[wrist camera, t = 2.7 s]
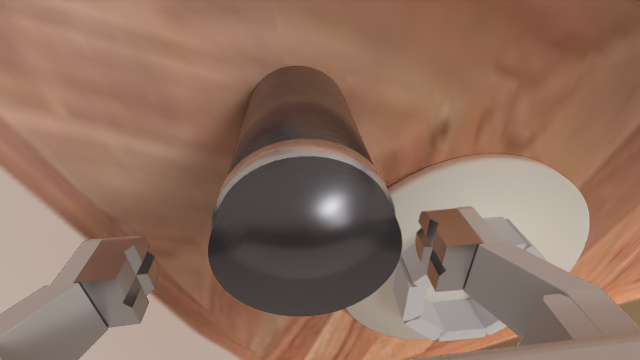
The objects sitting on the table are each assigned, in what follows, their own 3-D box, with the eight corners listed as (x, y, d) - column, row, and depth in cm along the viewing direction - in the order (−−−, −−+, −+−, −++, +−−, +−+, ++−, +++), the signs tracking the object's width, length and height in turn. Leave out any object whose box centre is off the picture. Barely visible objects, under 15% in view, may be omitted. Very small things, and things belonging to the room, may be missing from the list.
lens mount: (627, 144, 20) (685, 175, 17) (529, 319, 30) (555, 357, 27) (335, 163, 19) (344, 199, 16) (335, 337, 29) (340, 379, 26)
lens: (349, 61, 16) (419, 166, 7) (347, 157, 19) (395, 310, 10) (238, 66, 15) (180, 182, 7) (253, 163, 18) (225, 325, 10)
